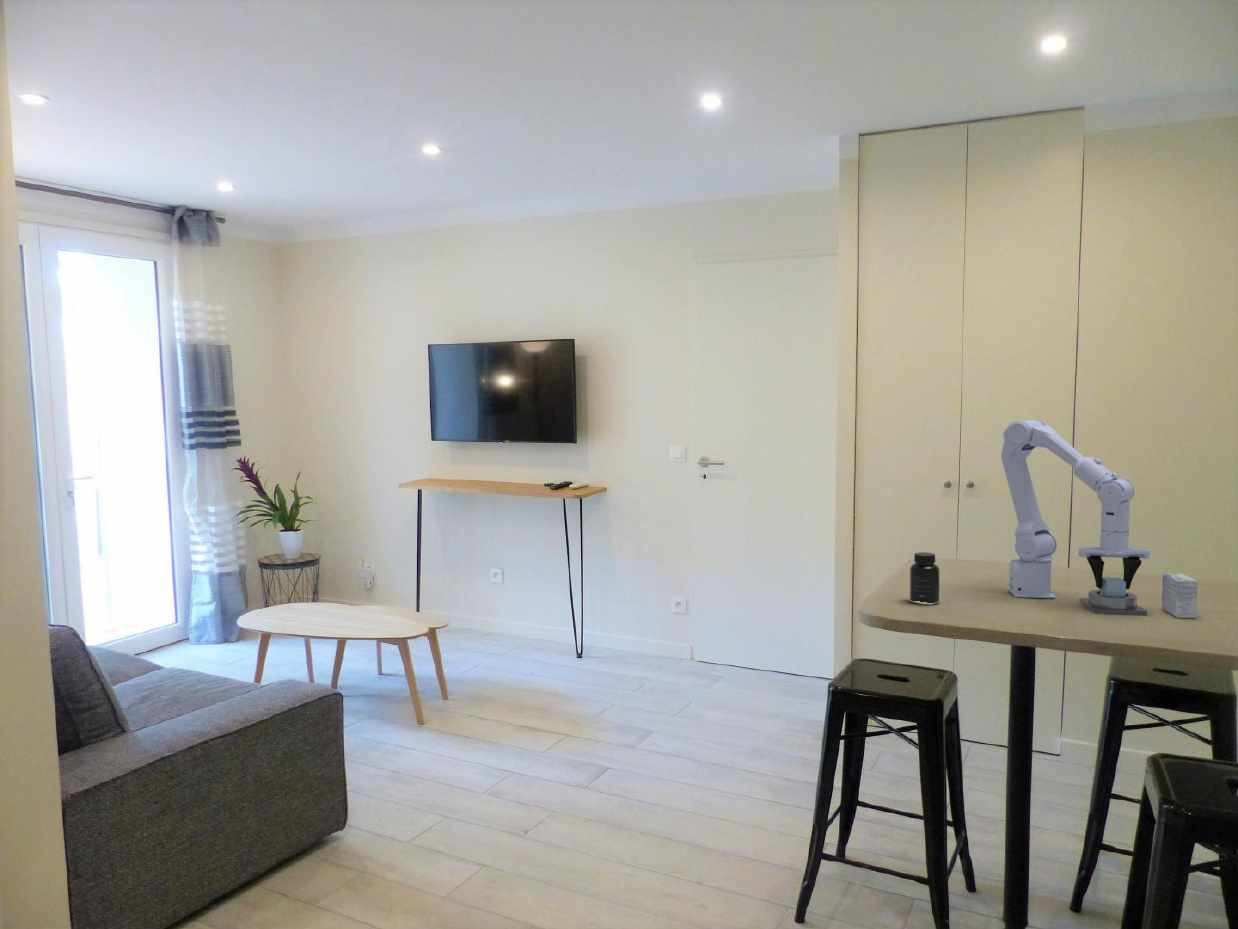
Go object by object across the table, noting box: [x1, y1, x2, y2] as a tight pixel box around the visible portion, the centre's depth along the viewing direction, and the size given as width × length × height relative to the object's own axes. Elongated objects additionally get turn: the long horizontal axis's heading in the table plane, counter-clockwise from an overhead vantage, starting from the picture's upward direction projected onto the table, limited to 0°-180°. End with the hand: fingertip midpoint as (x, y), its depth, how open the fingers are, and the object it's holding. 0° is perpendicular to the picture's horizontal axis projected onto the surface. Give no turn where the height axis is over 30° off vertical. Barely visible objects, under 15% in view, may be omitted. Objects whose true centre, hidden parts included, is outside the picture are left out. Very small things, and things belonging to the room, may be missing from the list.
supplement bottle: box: [909, 551, 940, 603], centre depth 213 cm, size 7×7×12 cm
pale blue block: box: [1099, 576, 1127, 597], centre depth 204 cm, size 5×5×6 cm
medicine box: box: [1161, 573, 1199, 619], centre depth 199 cm, size 8×4×9 cm, turn 168°
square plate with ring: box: [1078, 588, 1148, 616], centre depth 205 cm, size 11×11×4 cm
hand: (1112, 588), depth 204 cm, fingers open, 5 cm apart
